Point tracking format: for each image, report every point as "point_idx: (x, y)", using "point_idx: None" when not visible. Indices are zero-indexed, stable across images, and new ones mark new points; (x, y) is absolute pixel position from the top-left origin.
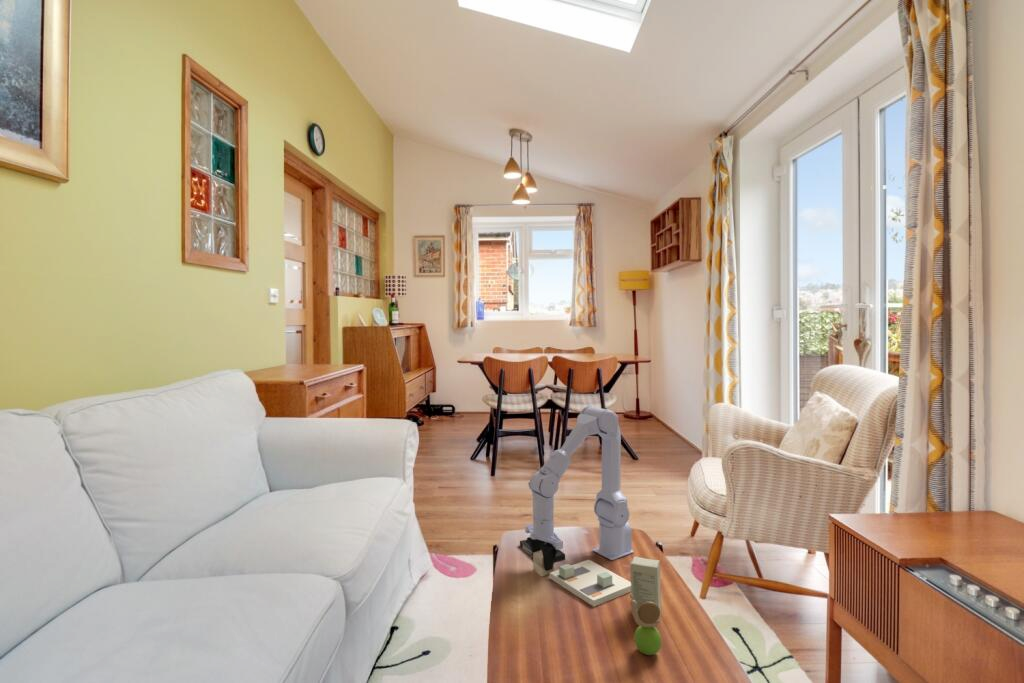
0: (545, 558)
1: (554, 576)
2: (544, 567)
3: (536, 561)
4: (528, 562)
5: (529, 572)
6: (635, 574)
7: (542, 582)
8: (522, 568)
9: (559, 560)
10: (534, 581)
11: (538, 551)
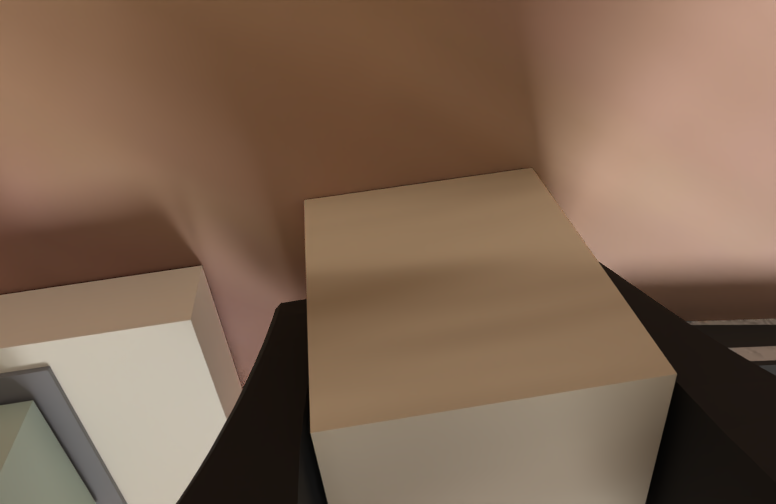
0: (211, 483)
1: (65, 331)
2: None
3: (493, 287)
4: (769, 217)
5: (521, 88)
6: None
7: (109, 116)
8: (703, 49)
9: None
10: (190, 5)
11: (636, 469)
